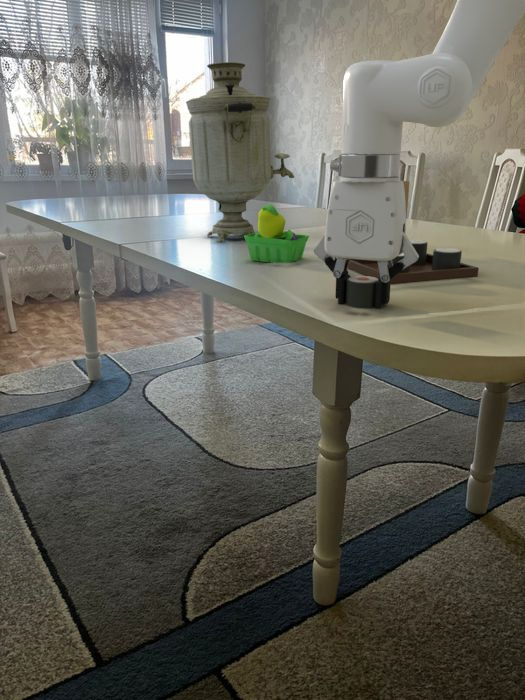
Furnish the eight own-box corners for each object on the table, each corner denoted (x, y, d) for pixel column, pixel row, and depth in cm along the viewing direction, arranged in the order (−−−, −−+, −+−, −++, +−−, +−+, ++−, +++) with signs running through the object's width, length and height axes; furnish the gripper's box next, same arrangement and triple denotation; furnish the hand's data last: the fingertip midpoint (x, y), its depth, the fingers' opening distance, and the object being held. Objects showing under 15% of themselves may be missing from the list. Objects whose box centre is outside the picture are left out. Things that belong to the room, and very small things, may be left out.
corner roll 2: (430, 264, 102) (432, 242, 100) (409, 266, 100) (411, 244, 99) (416, 260, 106) (418, 239, 104) (396, 262, 105) (397, 240, 103)
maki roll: (384, 310, 75) (386, 280, 73) (354, 313, 73) (355, 283, 72) (368, 302, 79) (370, 273, 77) (339, 305, 78) (340, 276, 76)
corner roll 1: (414, 279, 90) (416, 254, 89) (389, 281, 89) (391, 256, 87) (399, 274, 94) (401, 250, 93) (375, 276, 93) (377, 252, 91)
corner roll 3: (464, 275, 93) (467, 251, 91) (441, 277, 91) (444, 252, 90) (448, 270, 97) (450, 247, 96) (426, 271, 96) (428, 248, 94)
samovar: (296, 247, 125) (299, 52, 112) (183, 247, 126) (173, 54, 112) (293, 230, 153) (295, 73, 140) (200, 230, 154) (193, 74, 140)
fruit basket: (310, 260, 110) (311, 203, 106) (288, 268, 103) (289, 206, 99) (262, 255, 116) (262, 200, 112) (239, 262, 109) (237, 204, 105)
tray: (477, 279, 92) (479, 267, 91) (385, 288, 87) (386, 275, 86) (418, 261, 108) (419, 251, 107) (338, 267, 103) (338, 256, 102)
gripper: (297, 170, 70) (295, 305, 77) (430, 170, 63) (416, 321, 69) (318, 168, 77) (315, 294, 83) (442, 169, 69) (428, 306, 76)
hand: (361, 305), depth 76 cm, fingers closed on maki roll, 4 cm apart
